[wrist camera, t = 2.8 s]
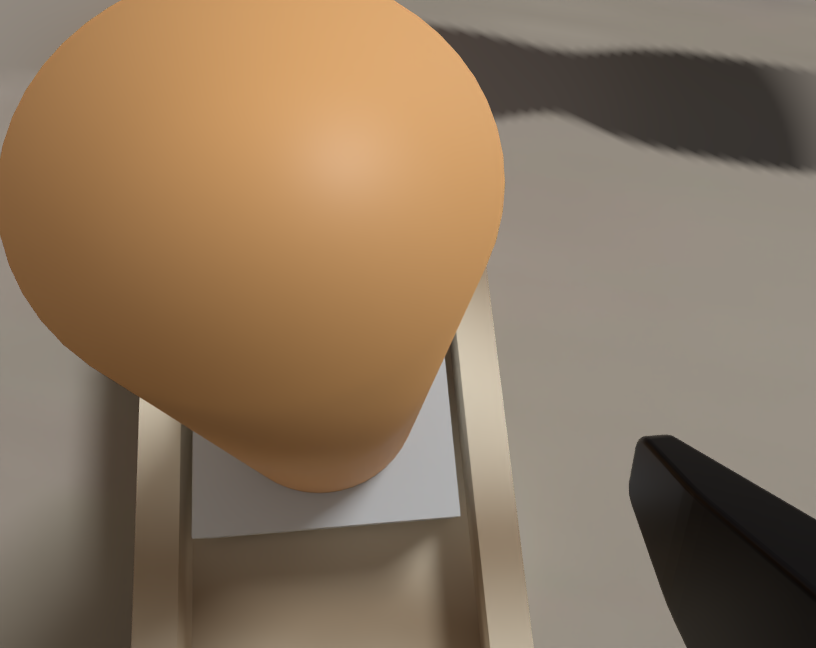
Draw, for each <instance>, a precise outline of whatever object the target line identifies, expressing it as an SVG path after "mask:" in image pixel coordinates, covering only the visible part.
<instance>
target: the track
mask: <svg viewBox="0 0 816 648" xmlns="http://www.w3.org/2000/svg"><path fill="white" fill-rule="evenodd" d="M445 365H446V375H447V385H448V395H449V405H450V415H451V425H452V435H453V445H454V455H455V465H456V474H457V484H458V494H459V504H460V514H461V516H458V517H454V518H448V519H436V520H424V521H412V522H401V523H389V524H377V525H365V526H353V527H341V528H329V529H317V530H305V531H294V532H282V533H270V534H258V535H246V536H234V537H222V538H204V539H192V456H193V431H192V430H191V429H189V428H188V427H186V426H184V425H183V424H181V423H180V422H178V421H176V420H175V419H173V418H172V417H170V416H168V415H167V414H165V413H164V412H162V411H161V410H159V409H157V408H156V407H154V406H153V405H151V404H149V403H148V402H146V401H145V400H143V399H142V398H140V401H139V430H138V459H137V488H136V517H135V546H134V575H133V604H132V634H131V648H534V647H533V639H532V631H531V622H530V614H529V606H528V598H527V590H526V582H525V574H524V566H523V558H522V550H521V542H520V534H519V526H518V518H517V510H516V502H515V494H514V486H513V477H512V469H511V461H510V453H509V445H508V437H507V429H506V421H505V413H504V405H503V397H502V389H501V381H500V373H499V365H498V357H497V349H496V341H495V332H494V324H493V316H492V308H491V300H490V292H489V284H488V276H487V268H485V270H484V272H483V275H482V277H481V279H480V281H479V283H478V285H477V288H476V290H475V292H474V294H473V296H472V299H471V301H470V303H469V305H468V307H467V309H466V312H465V314H464V316H463V318H462V320H461V323H460V325H459V327H458V329H457V331H456V333H455V336H454V338H453V340H452V342H451V344H450V347H449V349H448V351H447V353H446V355H445Z"/></svg>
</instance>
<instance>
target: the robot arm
mask: <svg viewBox="0 0 816 648" xmlns="http://www.w3.org/2000/svg"><path fill="white" fill-rule="evenodd" d="M629 496H630V500H631V504H632V507H633V510H634V512H635V515H636V518H637V521H638V524H639V527H640V530H641V533H642V536H643V538H644V541H645V544H646V547H647V550H648V553H649V556H650V559H651V561H652V564H653V567H654V570H655V573H656V576H657V579H658V582H659V585H660V587H661V590H662V593H663V595H664V598H665V601H666V603H667V606H668V608H669V610H670V613H671V615H672V617H673V619H674V622H675V624H676V626H677V628H678V630H679V632H680V634H681V636H682V638H683V641H684V643H685V645H686V647H687V648H816V519H814V518H812V517H811V516H809V515H807V514H806V513H804V512H802V511H800V510H799V509H797V508H795V507H794V506H792V505H790V504H788V503H787V502H785V501H783V500H782V499H780V498H778V497H776V496H775V495H773V494H771V493H770V492H768V491H766V490H765V489H763V488H761V487H759V486H758V485H756V484H754V483H753V482H751V481H749V480H747V479H746V478H744V477H742V476H741V475H739V474H737V473H735V472H734V471H732V470H730V469H729V468H727V467H725V466H723V465H722V464H720V463H718V462H717V461H715V460H713V459H711V458H710V457H708V456H706V455H705V454H703V453H701V452H699V451H698V450H696V449H694V448H693V447H691V446H689V445H687V444H686V443H684V442H682V441H681V440H679V439H677V438H675V437H673V436H671V435H655V436H644V437H642V438H640V439H639V440H638V442H637V444H636V448H635V453H634V459H633V464H632V469H631V475H630V480H629Z"/></svg>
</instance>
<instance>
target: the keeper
mask: <svg viewBox="0 0 816 648" xmlns="http://www.w3.org/2000/svg"><path fill="white" fill-rule="evenodd" d="M504 188H505V177H504V162H503V153H502V148H501V143H500V138H499V134H498V129H497V126H496V123H495V120H494V118H493V115H492V112H491V109H490V107H489V104H488V102H487V100H486V98H485V96H484V94H483V92H482V91H481V88H480V86H479V85H478V83H477V81H476V79H475V77H474V76H473V74H472V73H471V71H470V70H469V69H468V67H467V66H466V65H465V63H464V62H463V60H462V59H461V58H460V56H459V55H458V54H457V53H456V52H455V50H454V49H452V47H451V46H450V45H449V44H448V43H447V42H446V41H445V40H444V39H443V38H442V37H441V35H439V33H437V32H436V31H435V30H434V29H433V28H431V27H430V26H429V25H428V24H427V23H425V22H424V21H423V20H422V19H421V18H419V17H418V16H417V15H415V14H414V13H412V12H411V11H409V10H408V9H406V8H405V7H403V6H401V5H400V4H398V3H397V2H395V1H394V0H121V1H119V2H117V3H115V4H114V5H112V6H110V7H109V8H107V9H106V10H104V11H103V12H101V13H100V14H99V15H97V16H95V17H94V18H92V19H91V20H90V21H88V22H87V23H85V24H84V25H83V26H82V27H81V28H80V29H79V30H77V31H76V32H75V33H74V34H73V35H72V36H70V37H69V38H68V39H67V40H66V41H65V42H64V43H63V44H62V45H61V46H60V47H59V48H58V49H57V50H56V51H55V53H54V54H53V55H52V56H51V57H50V58H49V59H48V60H47V61H46V63H45V64H44V65H43V66H42V67H41V69H40V70H39V72H38V73H37V75H36V76H35V78H34V79H33V80H32V82H31V83H30V85H29V86H28V88H27V89H26V91H25V93H24V95H23V97H22V99H21V101H20V103H19V105H18V107H17V109H16V111H15V113H14V115H13V117H12V119H11V122H10V125H9V128H8V131H7V134H6V137H5V140H4V143H3V147H2V152H1V158H0V236H1V239H2V242H3V246H4V249H5V253H6V256H7V260H8V263H9V266H10V268H11V270H12V272H13V274H14V276H15V279H16V281H17V283H18V285H19V287H20V289H21V291H22V293H23V295H24V296H25V298H26V299H27V301H28V302H29V304H30V305H31V307H32V308H33V310H34V311H35V313H36V314H37V316H38V317H39V318H40V320H41V321H42V322H43V323H44V324H45V325H46V326H47V328H48V329H49V330H50V331H51V332H52V333H53V334H54V335H55V336H56V337H57V338H58V339H59V340H60V342H61V343H62V344H63V345H64V346H66V347H67V348H68V349H69V350H71V351H72V352H73V353H74V354H76V355H77V356H78V357H79V358H81V359H82V360H83V361H84V362H86V363H87V364H88V365H89V366H91V367H92V368H94V369H96V370H97V371H99V372H100V373H102V374H103V375H105V376H107V377H108V378H110V379H111V380H113V381H115V382H116V383H118V384H119V385H121V386H123V387H124V388H126V389H127V390H129V391H130V392H132V393H134V394H135V395H137V396H138V397H140V398H142V399H143V400H145V401H146V402H148V403H149V404H151V405H153V406H154V407H156V408H157V409H159V410H161V411H162V412H164V413H165V414H167V415H168V416H170V417H172V418H173V419H175V420H176V421H178V422H180V423H181V424H183V425H184V426H186V427H188V428H189V429H191V430H192V431H193V456H192V539H204V538H222V537H234V536H246V535H258V534H270V533H282V532H294V531H305V530H317V529H329V528H341V527H353V526H365V525H377V524H389V523H401V522H412V521H424V520H436V519H448V518H454V517H458V516H461V514H460V504H459V494H458V484H457V474H456V465H455V455H454V445H453V435H452V425H451V415H450V405H449V395H448V385H447V375H446V365H445V355H446V353H447V351H448V349H449V347H450V344H451V342H452V340H453V338H454V336H455V333H456V331H457V329H458V327H459V325H460V323H461V320H462V318H463V316H464V314H465V312H466V309H467V307H468V305H469V303H470V301H471V299H472V296H473V294H474V292H475V290H476V288H477V285H478V283H479V281H480V279H481V277H482V275H483V272H484V270H485V268H486V265H487V263H488V260H489V257H490V255H491V252H492V250H493V247H494V245H495V242H496V239H497V234H498V230H499V226H500V221H501V217H502V212H503V201H504Z"/></svg>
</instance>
